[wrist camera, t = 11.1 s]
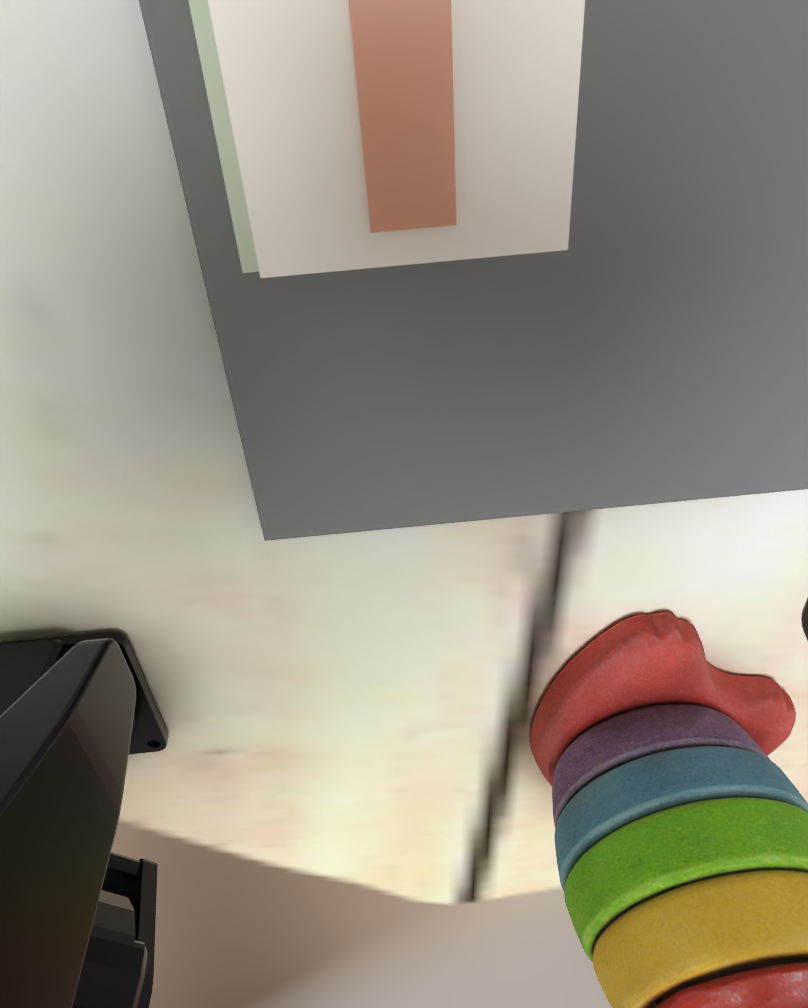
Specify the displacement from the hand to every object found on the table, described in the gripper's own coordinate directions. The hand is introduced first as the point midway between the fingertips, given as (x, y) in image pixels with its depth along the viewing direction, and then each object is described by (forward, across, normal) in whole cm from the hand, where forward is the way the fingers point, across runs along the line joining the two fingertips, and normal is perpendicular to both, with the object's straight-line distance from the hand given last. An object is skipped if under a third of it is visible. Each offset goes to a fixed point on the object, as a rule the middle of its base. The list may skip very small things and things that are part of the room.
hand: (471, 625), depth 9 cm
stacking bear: (+12, -9, +19) cm, 24 cm away
